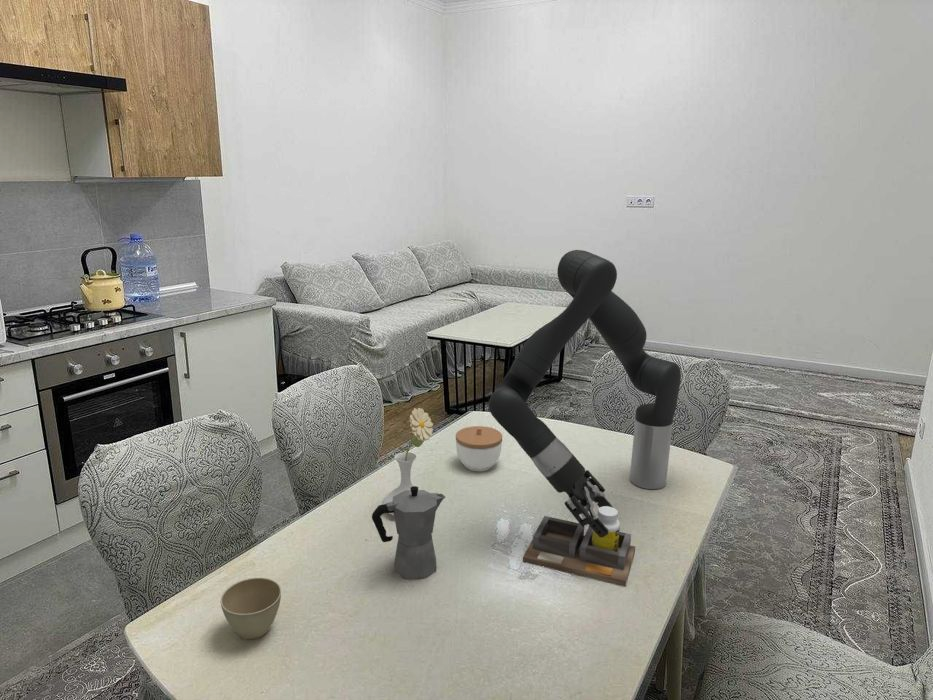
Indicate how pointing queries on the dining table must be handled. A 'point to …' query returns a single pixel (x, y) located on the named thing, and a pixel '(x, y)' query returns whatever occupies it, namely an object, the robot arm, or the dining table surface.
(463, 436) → the lidded bowl
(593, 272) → the robot arm
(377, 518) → the coffeepot
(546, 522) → the socket board
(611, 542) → the supplement bottle
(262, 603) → the beige bowl
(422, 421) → the flower in vase
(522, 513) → the dining table surface
